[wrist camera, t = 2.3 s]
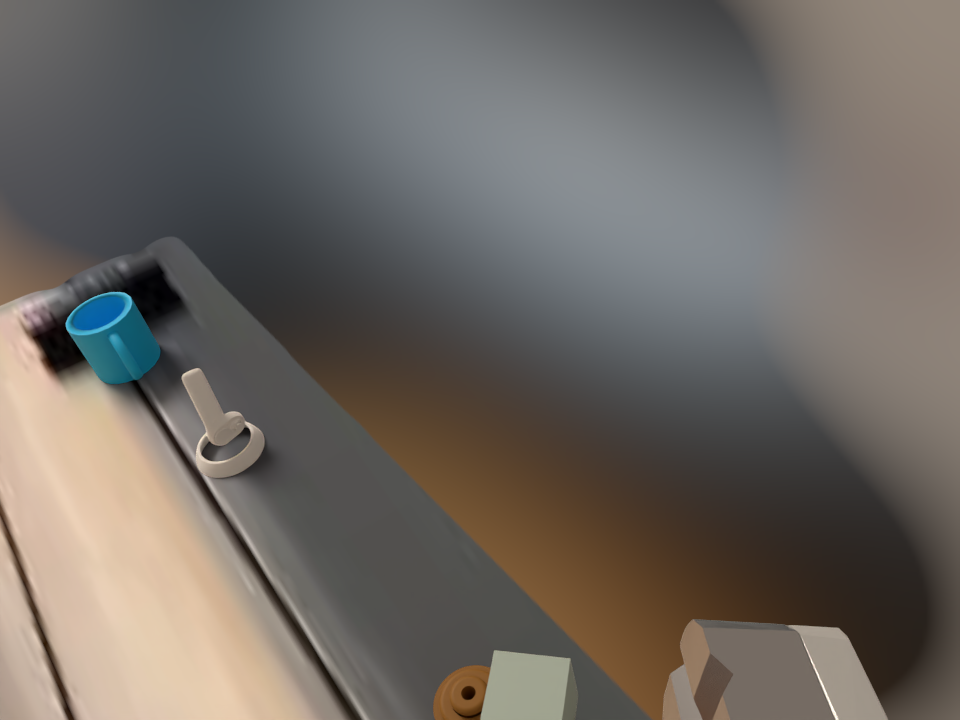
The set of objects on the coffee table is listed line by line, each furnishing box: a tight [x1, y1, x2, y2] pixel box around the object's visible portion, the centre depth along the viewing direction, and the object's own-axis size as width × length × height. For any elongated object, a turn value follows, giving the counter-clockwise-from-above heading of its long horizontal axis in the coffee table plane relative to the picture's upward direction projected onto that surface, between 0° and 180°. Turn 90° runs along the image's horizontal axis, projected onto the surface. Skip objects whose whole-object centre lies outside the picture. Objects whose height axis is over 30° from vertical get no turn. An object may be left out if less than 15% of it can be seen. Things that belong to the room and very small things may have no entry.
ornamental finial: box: [433, 665, 491, 720], centre depth 62 cm, size 8×8×8 cm
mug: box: [66, 292, 161, 384], centre depth 104 cm, size 12×8×8 cm
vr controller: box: [182, 368, 265, 478], centre depth 92 cm, size 8×12×7 cm
